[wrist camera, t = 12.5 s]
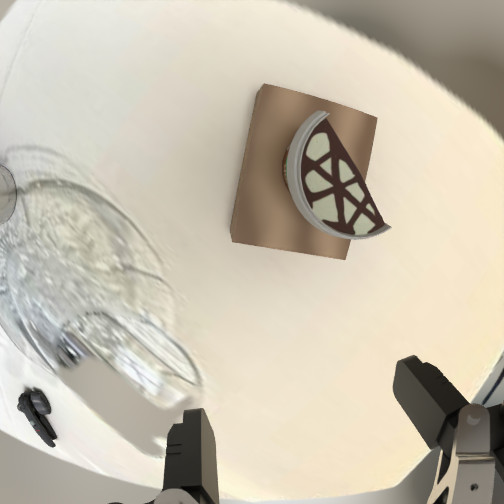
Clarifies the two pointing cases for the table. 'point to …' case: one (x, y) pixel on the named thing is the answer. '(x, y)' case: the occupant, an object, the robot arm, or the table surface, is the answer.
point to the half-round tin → (329, 183)
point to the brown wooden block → (270, 171)
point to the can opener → (37, 414)
